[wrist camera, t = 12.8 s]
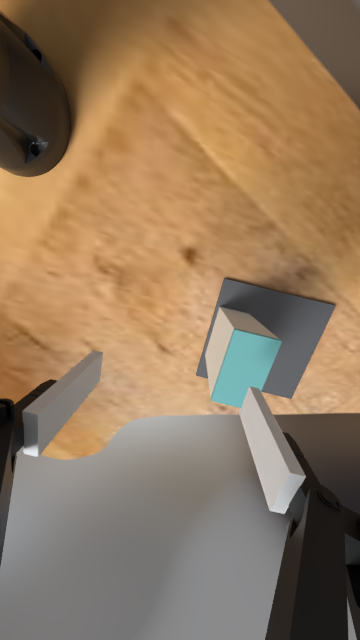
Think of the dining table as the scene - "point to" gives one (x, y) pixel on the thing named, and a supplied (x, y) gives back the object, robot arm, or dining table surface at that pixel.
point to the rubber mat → (277, 329)
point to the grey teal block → (238, 356)
